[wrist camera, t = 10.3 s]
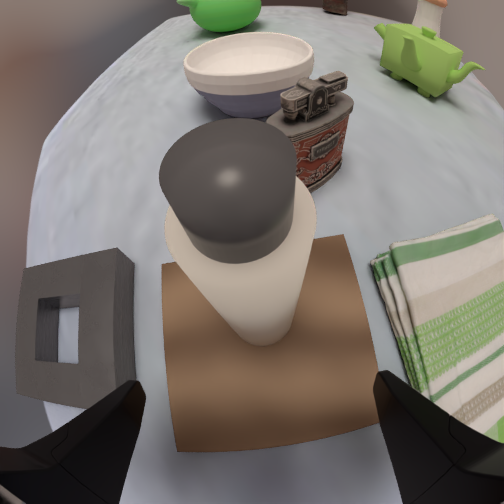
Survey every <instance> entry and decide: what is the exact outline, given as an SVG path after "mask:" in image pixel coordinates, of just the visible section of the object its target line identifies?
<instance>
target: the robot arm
mask: <svg viewBox="0 0 504 504" xmlns="http://www.w3.org/2000/svg"><path fill="white" fill-rule="evenodd" d="M373 394H374V399H375V403H376V408H377V413H378V418H379V423H380V427H381V430H382V433H383V436H384V439H385V442H386V446H387V449H388V452H389V455H390V459H391V462H392V465H393V469H394V472H395V476H396V480H397V483H398V487H399V491H400V494H401V498H402V502H403V504H504V443H501V442H498V441H496V440H494V439H492V438H490V437H488V436H486V435H484V434H482V433H480V432H478V431H476V430H474V429H472V428H471V427H469V426H467V425H465V424H464V423H462V422H461V421H459V420H458V419H456V418H455V417H453V416H452V415H450V414H449V413H447V412H446V411H445V410H443V409H442V408H440V407H439V406H438V405H436V404H435V403H433V402H432V401H430V400H429V399H428V398H426V397H425V396H423V395H422V394H421V393H419V392H418V391H416V390H415V389H414V388H412V387H411V386H409V385H408V384H407V383H405V382H404V381H402V380H401V379H400V378H398V377H397V376H395V375H394V374H393V373H391V372H390V371H388V370H384V371H379V372H377V374H376V378H375V381H374V385H373ZM145 402H146V395H145V392H144V390H143V388H142V386H141V384H140V382H139V381H137V380H128V381H126V382H125V383H123V384H122V385H121V386H119V387H118V388H117V389H115V390H114V391H112V392H111V393H110V394H108V395H107V396H105V397H104V398H102V399H101V400H100V401H98V402H97V403H95V404H94V405H92V406H91V407H90V408H88V409H87V410H85V411H84V412H82V413H81V414H80V415H78V416H77V417H75V418H74V419H72V420H71V421H69V423H66V424H65V425H63V426H62V427H60V428H59V429H57V430H56V431H54V432H52V433H50V434H49V435H47V436H45V437H43V438H41V439H39V440H37V441H35V442H33V443H31V444H29V445H27V446H25V447H22V448H7V447H0V504H119V502H120V498H121V494H122V490H123V486H124V483H125V479H126V475H127V472H128V468H129V465H130V461H131V458H132V455H133V451H134V448H135V445H136V441H137V438H138V435H139V431H140V427H141V422H142V417H143V412H144V407H145Z"/></svg>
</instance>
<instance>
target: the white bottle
mask: <svg viewBox="0 0 504 504" xmlns="http://www.w3.org/2000/svg"><path fill="white" fill-rule="evenodd" d="M296 166H297V156H296V151H295V148H294V146H293V144H292V142H291V141H290V139H289V138H288V137H287V136H286V135H285V134H284V133H283V132H282V131H281V130H279V129H278V128H276V127H274V126H273V125H270V124H268V123H265V122H262V121H259V120H254V119H247V118H229V119H222V120H217V121H213V122H210V123H206V124H204V125H201V126H199V127H197V128H195V129H193V130H191V131H190V132H188V133H186V134H185V135H184V136H182V137H181V138H180V139H179V140H177V141H176V142H175V143H174V144H173V145H172V147H171V148H170V149H169V150H168V152H167V153H166V155H165V157H164V158H163V160H162V163H161V166H160V171H159V182H160V186H161V189H162V191H163V193H164V195H165V197H166V199H167V201H168V202H169V204H170V206H169V209H168V211H167V215H166V219H165V238H166V243H167V246H168V249H169V252H170V253H171V255H172V257H173V259H174V260H175V261H176V263H177V264H178V265H179V266H180V268H181V269H182V270H183V271H184V273H185V274H186V275H187V276H188V277H189V279H190V280H191V281H192V282H193V283H194V285H195V286H196V287H197V288H198V289H199V291H200V292H201V293H202V294H203V295H204V297H205V298H206V299H207V300H208V301H209V302H210V304H211V305H212V306H213V307H214V308H215V309H216V310H217V312H218V313H219V314H220V315H221V316H222V317H223V318H224V320H225V321H226V322H227V323H228V324H229V325H230V326H231V327H232V329H233V330H234V331H235V332H236V333H237V334H238V335H239V336H240V337H241V338H242V339H243V340H244V341H246V342H247V343H250V344H252V345H256V346H268V345H272V344H274V343H276V342H278V341H280V340H281V339H282V338H283V337H284V336H285V335H286V334H287V332H288V331H289V329H290V327H291V324H292V320H293V316H294V313H295V309H296V306H297V302H298V298H299V295H300V291H301V287H302V283H303V279H304V275H305V271H306V267H307V263H308V259H309V255H310V251H311V247H312V243H313V238H314V234H315V230H316V221H317V217H316V208H315V204H314V201H313V198H312V196H311V194H310V192H309V190H308V189H307V187H306V186H305V185H304V183H303V182H302V181H301V180H300V179H299V178H298V177H297V176H296Z"/></svg>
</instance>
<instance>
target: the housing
mask: <svg viewBox="0 0 504 504" xmlns="http://www.w3.org/2000/svg"><path fill="white" fill-rule="evenodd" d="M133 287H134V263H133V262H132V261H131V260H130V259H129V258H128V257H127V256H126V255H125V254H124V253H122V252H121V251H120V250H119V249H118V248H113V249H108V250H103V251H99V252H94V253H89V254H85V255H80V256H76V257H71V258H67V259H63V260H58V261H54V262H50V263H45V264H41V265H37V266H33V267H29V268H25V269H24V271H23V277H22V283H21V290H20V298H19V305H18V314H17V328H16V349H15V350H16V352H15V362H16V363H15V368H16V389H17V394H21V395H24V396H28V397H32V398H35V399H39V400H43V401H48V402H52V403H57V404H61V405H67V406H72V407H78V408H84V409H88V408H90V407H91V406H92V405H94V404H95V403H97V402H98V401H100V400H101V399H102V398H104V397H105V396H107V395H108V394H110V393H111V392H112V391H114V390H115V389H117V388H118V387H119V386H121V385H122V384H123V383H125V382H126V381H128V380H136V371H135V355H134V330H133ZM72 307H79V331H78V357H79V364H71V363H58V319H59V309H61V308H72Z"/></svg>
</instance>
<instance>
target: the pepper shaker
mask: <svg viewBox="0 0 504 504" xmlns="http://www.w3.org/2000/svg"><path fill="white" fill-rule="evenodd" d="M446 6H447V0H418V5H417V10H416V15H415V17H414V20H413V23H412V25H413V26H416V27H418V28H420V29H422V26H425V27H428V28H430V29H432V30H434V31H435V32H437V34H436V35H435V36H436V37H438V38H440V21H441V16H442V11H443V7H446Z"/></svg>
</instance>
